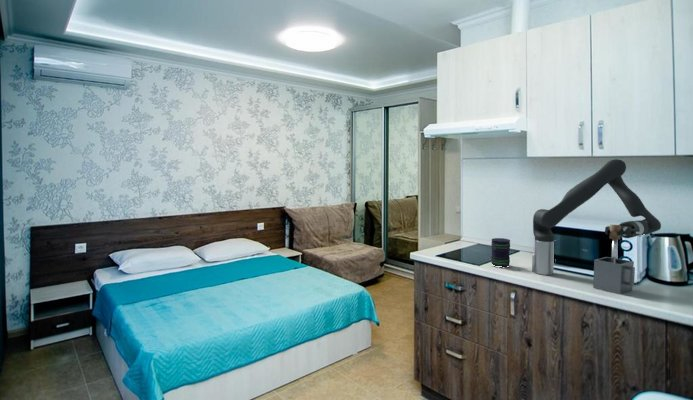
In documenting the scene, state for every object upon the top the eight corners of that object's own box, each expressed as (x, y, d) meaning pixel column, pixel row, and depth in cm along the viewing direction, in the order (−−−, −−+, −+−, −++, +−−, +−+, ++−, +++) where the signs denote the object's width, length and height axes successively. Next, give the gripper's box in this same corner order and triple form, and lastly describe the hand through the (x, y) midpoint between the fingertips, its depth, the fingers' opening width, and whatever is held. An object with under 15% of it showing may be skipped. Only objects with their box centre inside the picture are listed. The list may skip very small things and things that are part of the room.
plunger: (597, 272, 178) (599, 224, 176) (607, 269, 182) (609, 223, 181) (619, 277, 170) (621, 227, 169) (629, 274, 175) (631, 225, 173)
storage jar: (497, 263, 228) (497, 237, 227) (513, 266, 220) (513, 239, 219) (487, 265, 222) (487, 239, 221) (503, 269, 214) (503, 241, 213)
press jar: (593, 287, 179) (594, 259, 178) (605, 284, 184) (606, 256, 183) (626, 295, 167) (627, 265, 166) (638, 291, 173) (640, 262, 172)
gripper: (614, 219, 188) (595, 222, 179) (649, 222, 176) (630, 226, 167) (613, 235, 189) (594, 238, 180) (648, 239, 176) (629, 243, 168)
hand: (612, 232), depth 173 cm, fingers closed on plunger, 4 cm apart
